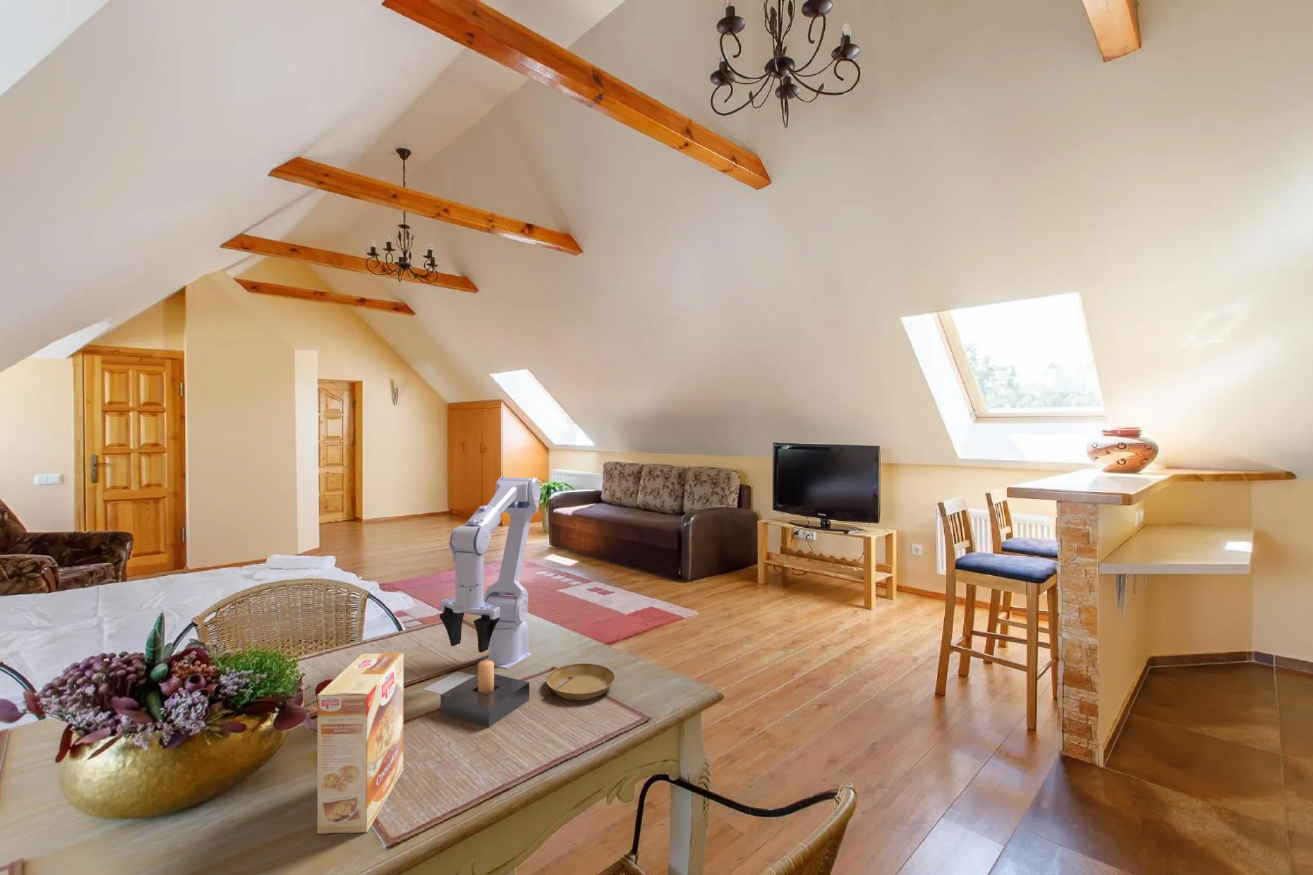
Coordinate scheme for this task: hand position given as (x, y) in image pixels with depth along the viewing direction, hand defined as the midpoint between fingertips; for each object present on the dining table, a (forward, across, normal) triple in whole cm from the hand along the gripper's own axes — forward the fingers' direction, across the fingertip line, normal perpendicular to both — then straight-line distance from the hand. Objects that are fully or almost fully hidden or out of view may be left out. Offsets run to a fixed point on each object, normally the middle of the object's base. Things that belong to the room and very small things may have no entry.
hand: (469, 647), depth 124 cm
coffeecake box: (+10, +11, -34) cm, 37 cm away
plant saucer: (+10, +20, +12) cm, 25 cm away
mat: (+9, -4, +1) cm, 10 cm away
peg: (+9, +8, -4) cm, 13 cm away
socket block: (+9, +8, -4) cm, 13 cm away
